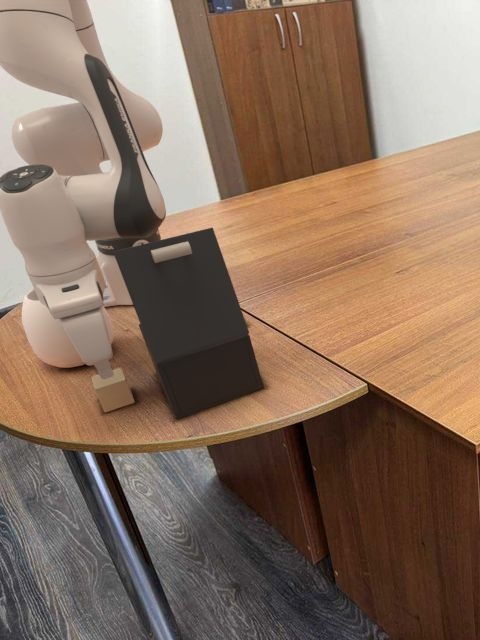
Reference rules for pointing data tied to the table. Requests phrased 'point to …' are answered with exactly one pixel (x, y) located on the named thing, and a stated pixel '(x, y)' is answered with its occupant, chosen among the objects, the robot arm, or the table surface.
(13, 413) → the table surface
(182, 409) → the dark grey box
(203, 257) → the lid
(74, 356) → the cream round vase
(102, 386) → the block
